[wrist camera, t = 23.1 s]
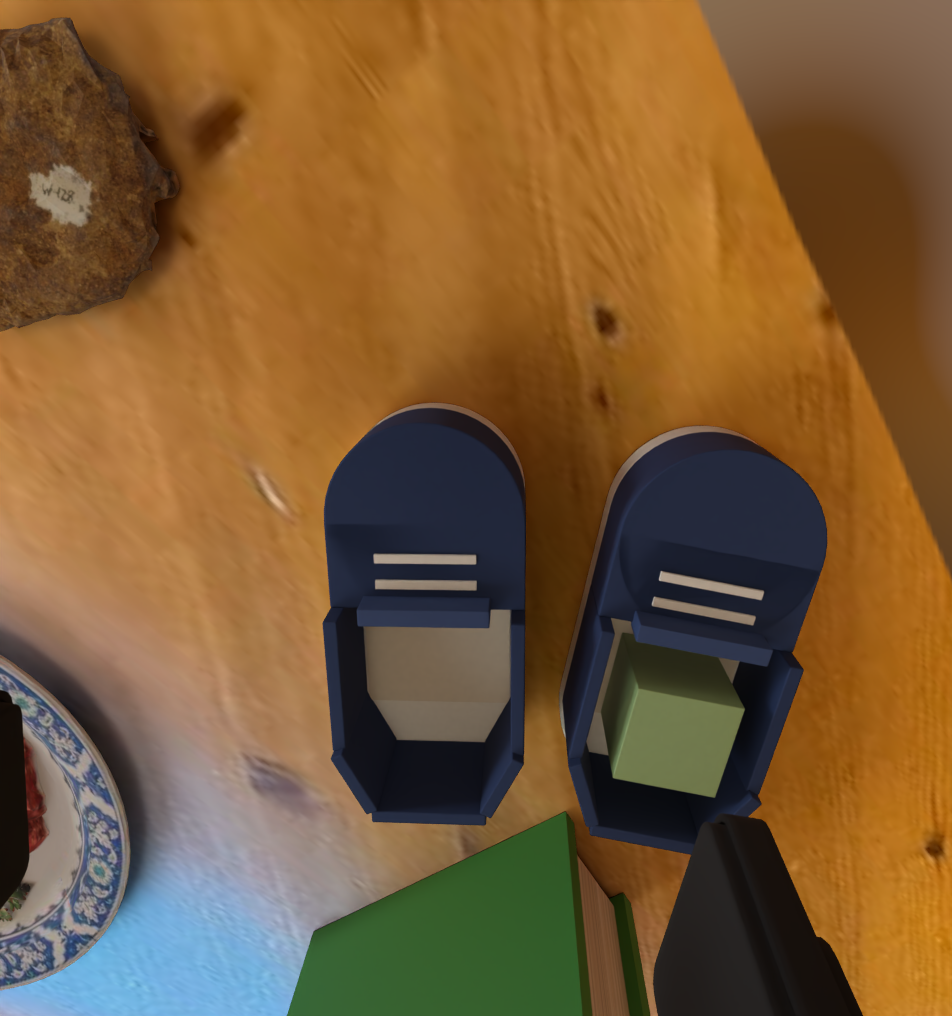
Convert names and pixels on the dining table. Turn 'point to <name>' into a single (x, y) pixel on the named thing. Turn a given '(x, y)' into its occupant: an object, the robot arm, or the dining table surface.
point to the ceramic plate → (61, 841)
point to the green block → (669, 717)
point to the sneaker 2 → (693, 614)
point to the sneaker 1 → (427, 616)
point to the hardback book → (484, 942)
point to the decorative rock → (70, 178)
